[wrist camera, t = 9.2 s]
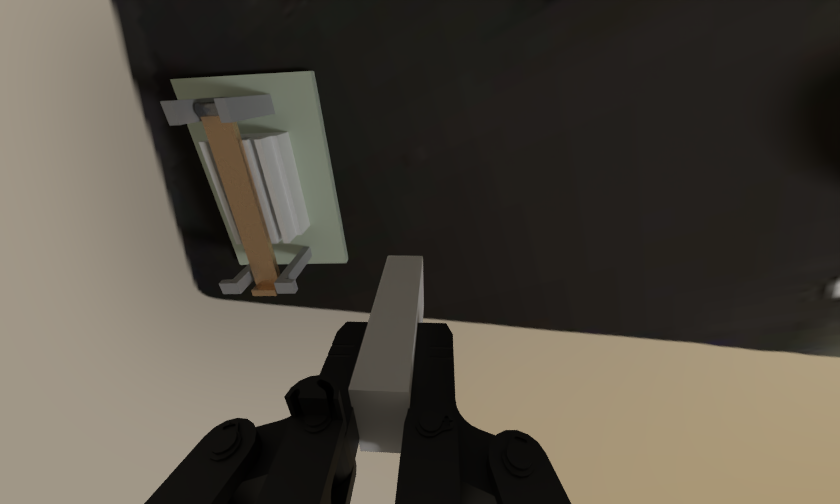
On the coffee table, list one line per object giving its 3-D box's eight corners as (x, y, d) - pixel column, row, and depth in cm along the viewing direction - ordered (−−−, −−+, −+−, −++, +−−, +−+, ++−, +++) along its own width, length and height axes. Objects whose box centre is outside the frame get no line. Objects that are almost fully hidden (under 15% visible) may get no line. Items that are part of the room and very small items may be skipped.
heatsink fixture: (177, 79, 36) (91, 78, 27) (314, 71, 35) (270, 67, 26) (244, 260, 47) (199, 302, 38) (348, 258, 46) (326, 301, 37)
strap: (202, 102, 31) (185, 102, 29) (233, 100, 31) (218, 101, 29) (261, 285, 41) (252, 296, 38) (285, 285, 40) (277, 295, 38)
